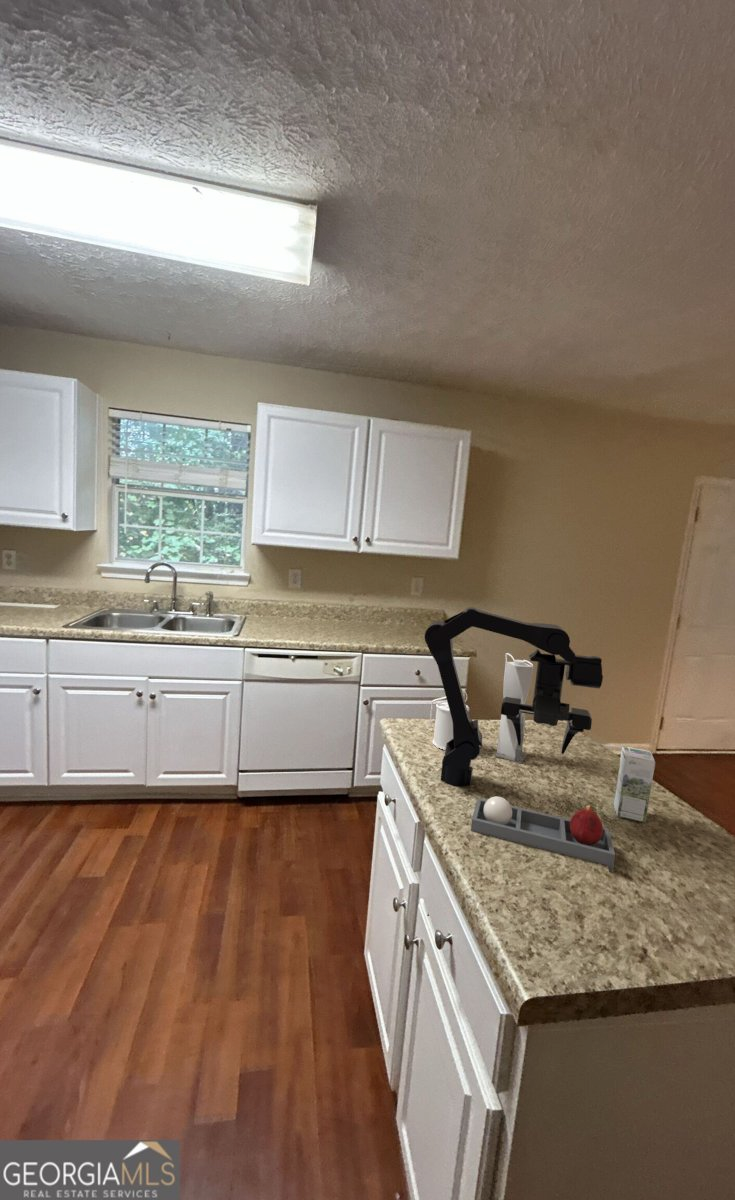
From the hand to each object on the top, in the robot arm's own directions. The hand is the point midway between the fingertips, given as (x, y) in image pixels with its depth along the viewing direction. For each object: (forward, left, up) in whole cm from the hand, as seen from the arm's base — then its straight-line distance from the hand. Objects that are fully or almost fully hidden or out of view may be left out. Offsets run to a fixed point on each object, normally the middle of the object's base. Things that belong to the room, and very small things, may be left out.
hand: (540, 749), depth 113 cm
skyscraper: (-7, +23, -12) cm, 27 cm away
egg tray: (+1, -17, -12) cm, 21 cm away
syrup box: (+20, +3, -12) cm, 24 cm away
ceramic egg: (-7, -17, -11) cm, 21 cm away
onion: (+9, -17, -11) cm, 22 cm away
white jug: (-24, +21, -12) cm, 34 cm away
